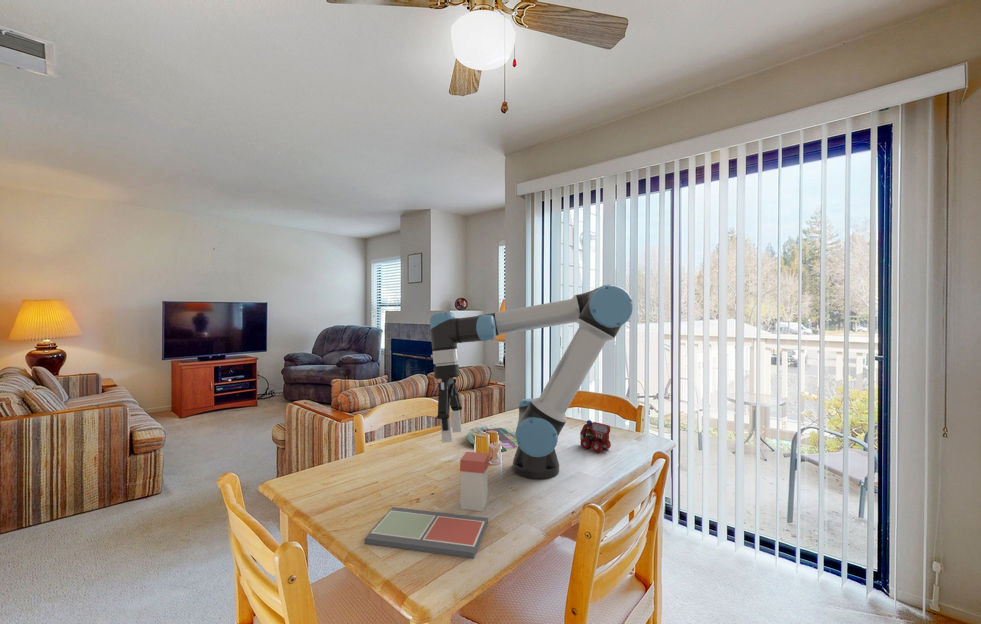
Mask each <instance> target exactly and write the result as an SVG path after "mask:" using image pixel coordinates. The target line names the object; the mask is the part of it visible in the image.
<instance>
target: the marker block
mask: <svg viewBox="0 0 981 624" xmlns="http://www.w3.org/2000/svg"><path fill="white" fill-rule="evenodd" d="M459 462H460V463H459V471H460V504H459V505H460V510H466V511H467V510H469V511H476V512H477V511H478V512H483V511H484V509H485V507H486V505H487V503H488V492H489V491H488V488H489V487H488V483H489V482H488V481H489V477H488V476H489V464H490V453H487V452H486V453H485V452H476V451H475V452H474V451H465V453H464V454H463V455H462V457H461V458H460V459H459Z"/></svg>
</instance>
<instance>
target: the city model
mask: <svg viewBox="0 0 981 624" xmlns="http://www.w3.org/2000/svg"><path fill="white" fill-rule="evenodd" d="M490 430H494V431H497V432H498V435H499V441H500V443H501V446H502V449H501V452H500V453H502V452H505V451H509V450H512V449H515V448H518V443H517V440H516V430H515V431H514V430H512V429H508V428H504V427H501V426H494V425H493V426H492V425H480V426H476V427H472V428H470V429H468V431H467V434H466V435H465V436H464V437H465V438H466V439H467V440H468V442H469V443H470V444H473V445H474V446H475V436H476V434H479V433H484V432H486V431H490Z"/></svg>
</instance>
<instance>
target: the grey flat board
mask: <svg viewBox="0 0 981 624" xmlns="http://www.w3.org/2000/svg"><path fill="white" fill-rule="evenodd" d="M488 524H489V518H488V517H484V516H483V517H482V516H474V515H465V514H457V513H456V514H454V513H448V512H447V513H446V512H439V511H430V510H429V511H428V510H423V509H412V508H405V507H396V506H393V507H391V509H389V511H388V512H387V513H386V514H385V515H384V516H383V517H382V519H381V520H379V521H378V523H377V524H376V525H375V526H374V527H373V528H372V530H371V531H370V532H369V533H368V534H367V535H366V536H365V537H364V544H366V545H370V546H371V545H373V546H380V547H385V548H387V547H388V548H393V549H401V550H409V551H415V552H422V553H423V552H425V553H429V554H431V553H432V554H439V555H446V556H453V557H460V558H468V559H475V557H476V554H477V551H478V549H479V547H480V544H481V541H482V539H483V536H484V534H485V532H486V528H487V526H488Z"/></svg>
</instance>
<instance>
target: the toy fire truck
mask: <svg viewBox="0 0 981 624" xmlns="http://www.w3.org/2000/svg"><path fill="white" fill-rule="evenodd" d="M610 432H611V426H610V425H609V424H605V423H601V422H596V421H593V420H590V419H588V420H586V423H585V424H583V427H582V429H581V430H580V433H579V434H580V446H581V447H582V448H583V450H588V449H590V448H591V450H592V451H593V452H594V453H595V454H597V453H601V452H602V451H603V450H604V451H606V450H607V451H608V450H609V449H610V448H611V441H610Z"/></svg>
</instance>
